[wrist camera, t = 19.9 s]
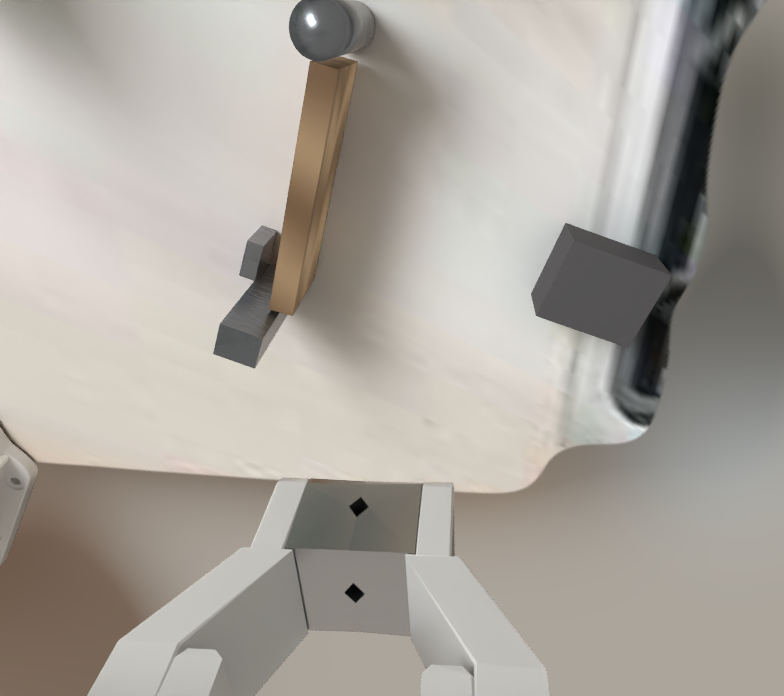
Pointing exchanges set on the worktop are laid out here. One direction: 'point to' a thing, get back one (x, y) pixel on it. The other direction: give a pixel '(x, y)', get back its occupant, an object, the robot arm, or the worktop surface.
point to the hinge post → (330, 28)
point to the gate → (312, 179)
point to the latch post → (252, 306)
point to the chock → (599, 285)
